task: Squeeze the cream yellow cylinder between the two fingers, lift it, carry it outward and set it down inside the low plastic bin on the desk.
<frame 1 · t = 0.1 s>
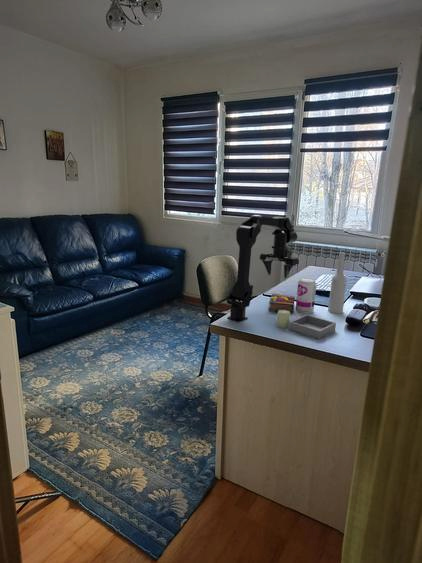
hand: (277, 276, 172), 15 cm above the table, fingers open, 9 cm apart
bottle: (335, 311, 169), on the table
supplement can: (304, 311, 168), on the table
cream yellow cylinder: (282, 325, 149), on the table
bin: (312, 330, 145), on the table
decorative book: (281, 308, 173), on the table
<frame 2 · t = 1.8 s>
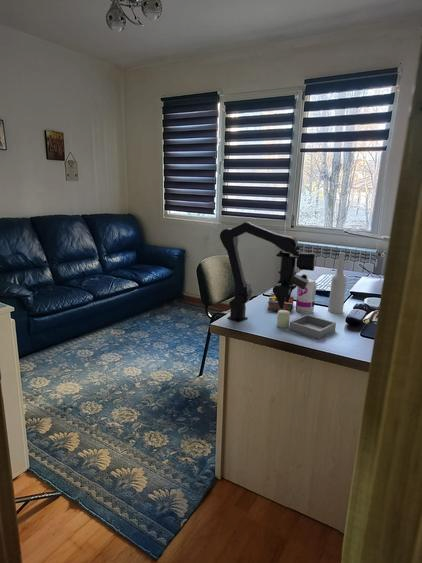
hand: (284, 305, 147), 9 cm above the table, fingers open, 9 cm apart
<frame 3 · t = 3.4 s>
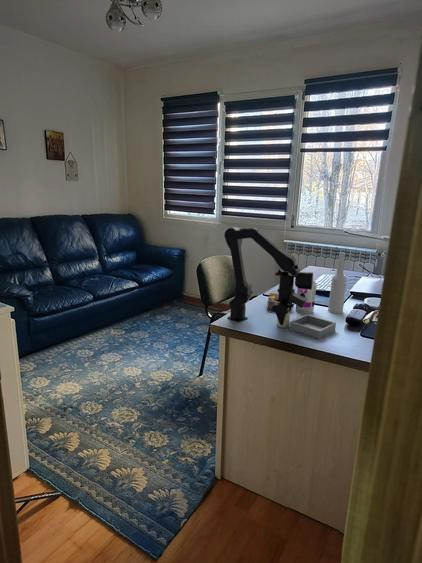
hand: (283, 322, 149), 1 cm above the table, fingers closed on cream yellow cylinder, 5 cm apart
cream yellow cylinder: (282, 325, 149), on the table, touching gripper
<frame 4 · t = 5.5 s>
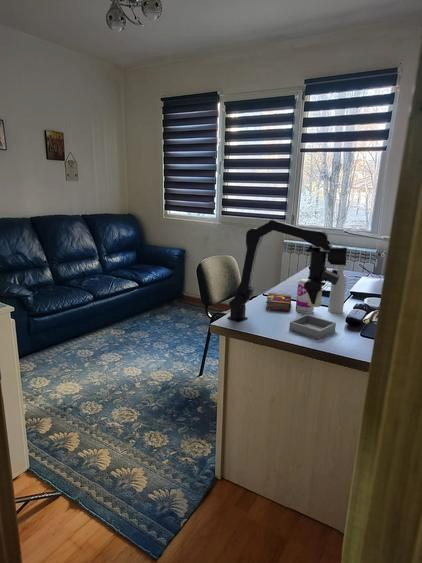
hand: (314, 302, 142), 12 cm above the table, fingers closed on cream yellow cylinder, 5 cm apart
cream yellow cylinder: (314, 305, 142), point 11 cm above the table, touching gripper
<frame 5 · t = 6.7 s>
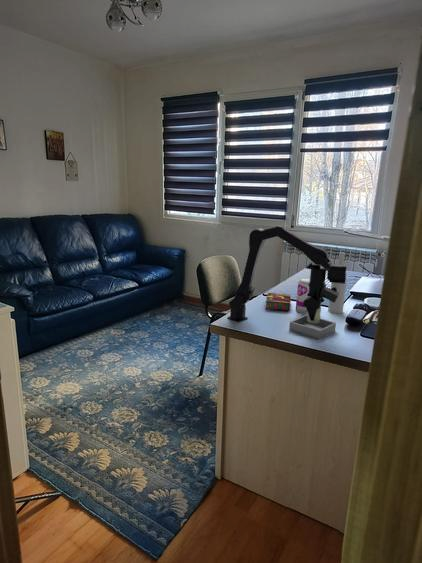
hand: (313, 318, 143), 5 cm above the table, fingers closed on cream yellow cylinder, 5 cm apart
cream yellow cylinder: (313, 321, 144), point 4 cm above the table, touching gripper
when the fingers open (4 cm above the table, at t = 7.6 s): cream yellow cylinder drops 3 cm, resting on bin.
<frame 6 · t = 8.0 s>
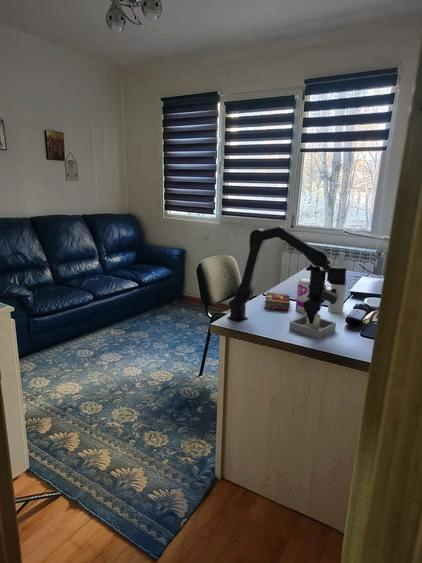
hand: (313, 319, 144), 4 cm above the table, fingers open, 9 cm apart
cream yellow cylinder: (312, 329, 145), point 1 cm above the table, touching bin
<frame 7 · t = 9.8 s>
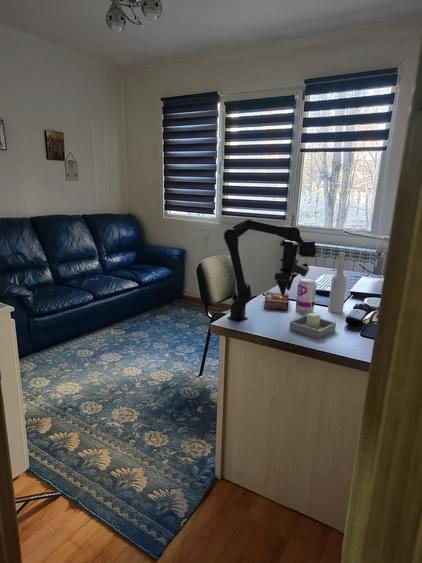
hand: (285, 292, 153), 12 cm above the table, fingers open, 9 cm apart
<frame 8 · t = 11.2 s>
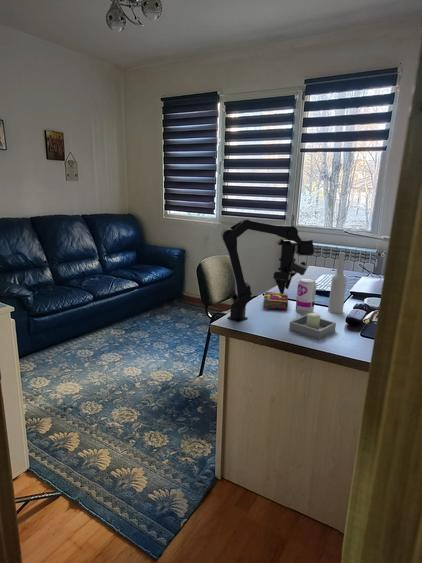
hand: (284, 291, 154), 13 cm above the table, fingers open, 9 cm apart
at the end: cream yellow cylinder inside the target area on the bin (0.1 cm from its centre), point 0.6 cm above the bin's base; the gripper is holding nothing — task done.
